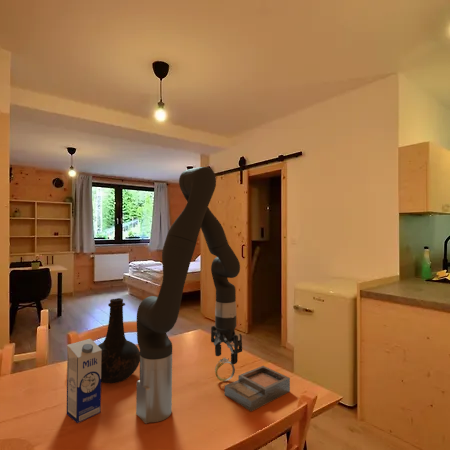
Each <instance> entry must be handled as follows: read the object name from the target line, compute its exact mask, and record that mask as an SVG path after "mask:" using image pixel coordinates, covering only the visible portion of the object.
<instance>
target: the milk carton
mask: <svg viewBox="0 0 450 450" xmlns="http://www.w3.org/2000/svg"><path fill="white" fill-rule="evenodd" d="M98 345H99V344H97V343H96V342H95V341H94V340H92V338H88V339H83V340H80V341H77V342H72V343H69V344H67V345H66V347H67V360H66V364H67V365H66V415H67V416H68V417H69V418H70V419H71V420H73V421H74V422H75V423H77V424H79V423H81V422H84V421H85V420H88V419H90V418H92V417H94V416H96V415H98V414H101V408H102V405H101V404H102V398H101V397H102V382H101V348H100V347H99V346H98Z"/></svg>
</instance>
